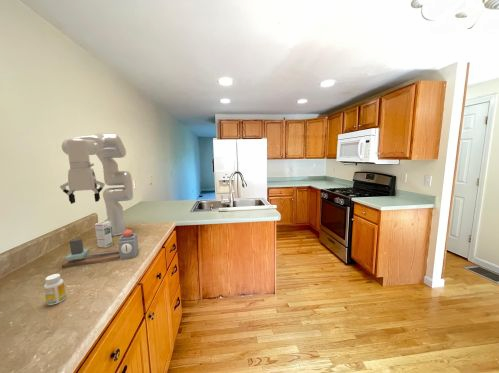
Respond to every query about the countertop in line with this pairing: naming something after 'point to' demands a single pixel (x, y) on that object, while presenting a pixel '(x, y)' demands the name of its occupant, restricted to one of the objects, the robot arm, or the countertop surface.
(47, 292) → the supplement bottle
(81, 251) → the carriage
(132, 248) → the cabinet
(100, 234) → the syrup box
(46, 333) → the countertop surface
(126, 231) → the button
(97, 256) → the rail bed
